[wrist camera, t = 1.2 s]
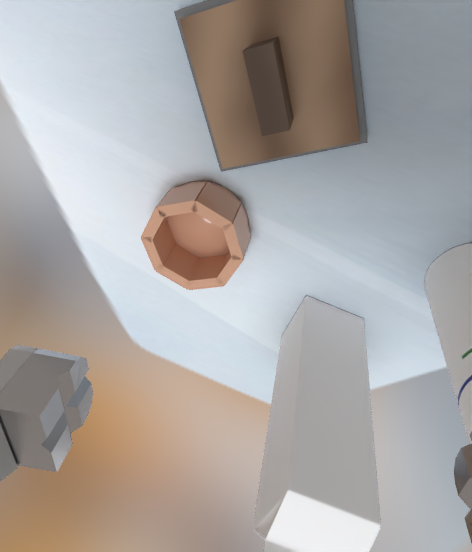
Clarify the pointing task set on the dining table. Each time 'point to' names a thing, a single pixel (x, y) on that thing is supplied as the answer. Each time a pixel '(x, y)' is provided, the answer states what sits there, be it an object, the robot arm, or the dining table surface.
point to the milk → (320, 439)
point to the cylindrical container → (454, 320)
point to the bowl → (197, 235)
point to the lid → (274, 77)
